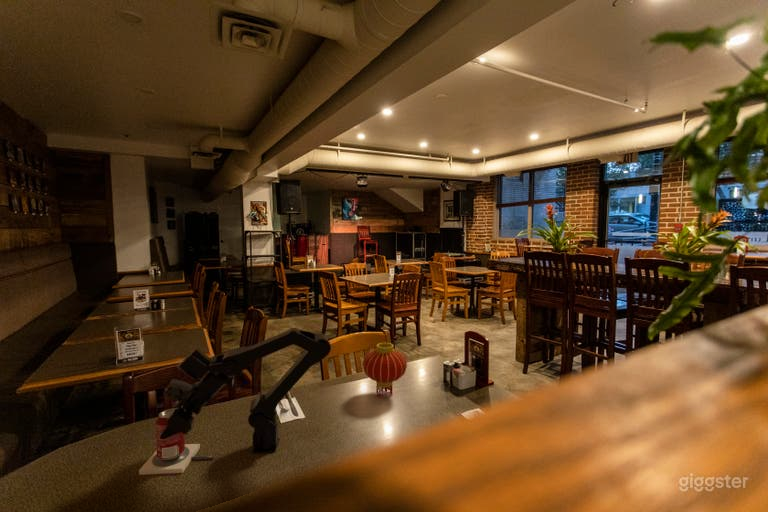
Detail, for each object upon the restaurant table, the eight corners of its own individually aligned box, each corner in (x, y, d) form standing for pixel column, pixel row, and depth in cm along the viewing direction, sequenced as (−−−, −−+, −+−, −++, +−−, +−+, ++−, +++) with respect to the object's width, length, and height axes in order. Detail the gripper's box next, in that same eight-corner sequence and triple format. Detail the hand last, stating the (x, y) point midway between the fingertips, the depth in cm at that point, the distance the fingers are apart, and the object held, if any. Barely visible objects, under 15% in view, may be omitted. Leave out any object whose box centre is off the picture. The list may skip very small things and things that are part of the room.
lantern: (407, 406, 134) (409, 326, 132) (360, 405, 134) (361, 326, 132) (405, 385, 151) (406, 315, 148) (363, 384, 151) (364, 314, 149)
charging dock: (220, 446, 108) (220, 442, 108) (205, 471, 97) (205, 466, 97) (161, 448, 107) (161, 444, 107) (139, 474, 96) (139, 469, 96)
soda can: (179, 460, 98) (179, 416, 98) (152, 463, 97) (151, 418, 97) (188, 447, 105) (187, 406, 105) (162, 450, 104) (162, 408, 104)
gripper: (191, 358, 110) (152, 398, 108) (174, 385, 92) (126, 433, 90) (220, 380, 112) (183, 420, 110) (209, 410, 95) (163, 458, 93)
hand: (165, 431), depth 101 cm, fingers closed on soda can, 7 cm apart
